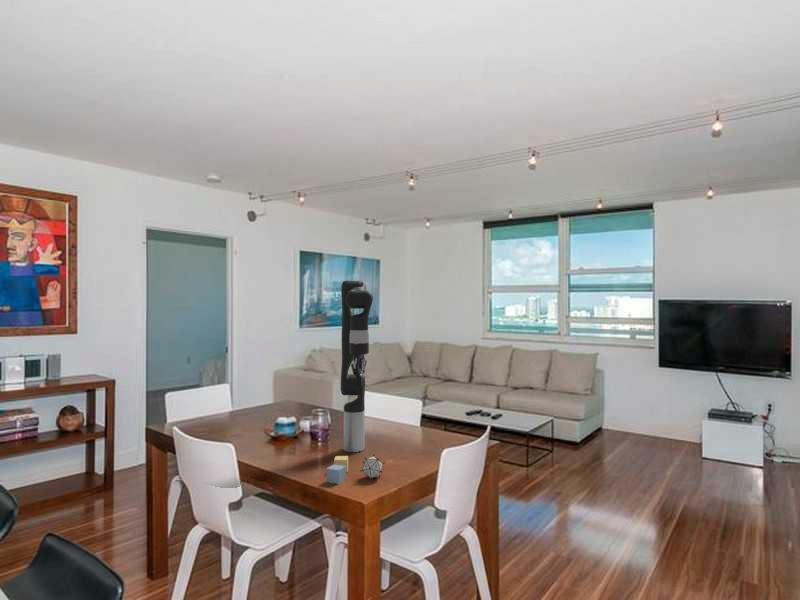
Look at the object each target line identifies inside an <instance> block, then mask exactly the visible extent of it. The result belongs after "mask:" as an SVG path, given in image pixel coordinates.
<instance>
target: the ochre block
mask: <svg viewBox="0 0 800 600" xmlns="http://www.w3.org/2000/svg"><path fill="white" fill-rule="evenodd" d="M333 461H334V463H333V465H341V466H346V472H347V473H348V472H349V455H336V456H335V457H334V460H333Z"/></svg>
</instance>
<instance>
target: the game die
mask: <svg viewBox="0 0 800 600" xmlns="http://www.w3.org/2000/svg"><path fill="white" fill-rule="evenodd" d="M379 459H380V458H379V457H378V458H377V457H376V456H375V454H373V456H370V457H368V458H367V457H364V460H365V461H363V462H362V464H363V465H362V469H360V470H359V472H363V473H364V474H365V475H366V477H369V478H370V481H372V479H373V478H376V477H379V478H380V477H381V475H380V474H381V473H383V471H382V468H383V465H385V464H386V463H385V462H382V461H380V460H379Z"/></svg>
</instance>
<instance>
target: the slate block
mask: <svg viewBox="0 0 800 600" xmlns="http://www.w3.org/2000/svg"><path fill="white" fill-rule="evenodd" d="M346 475H347V473H346V466H341V465H334V464H332V465H331V466H328V467H327V468H326V483H328V482H329V483H330V484H335V483H336V484H335V485H340V484H341V483H343V482H345V481H346V480H347V479H346V477H347V476H346ZM345 479H346V480H345ZM342 481H343V482H342ZM339 483H340V484H339Z"/></svg>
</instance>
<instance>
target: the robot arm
mask: <svg viewBox="0 0 800 600" xmlns="http://www.w3.org/2000/svg"><path fill="white" fill-rule="evenodd" d="M340 294H341V297H340V299H341V321H342V322H341V369H340V392H341V395H343V396H356V398H355V399H353V400H351V401H349V402H346V403H345V404H344V405H343V451H345V452H346V453H347V452H348V453H359V451H360V452H363V451H364V450H365V437H366V436H365V432H366V431H365V430H366V429H365V426H366V423H365V420H366V418H365V417H366V416H365V413H366V412H365V407H366V406H365V397H366V395H365V394H366V392H365V391H366V378H365V375H364V374H365V371H366V366H367V363H368V362H367V359H366V358H365V355H368V354H369V353H370V346H369V345H370V341H369V340H370V336H369V316H370V312H371V309H372V308H371V307H372V305H373V300H374V296H373V293H372V292H371V291H369V290H367V285H366V284H365V281H362V280H343V281H342V283H341V287H340ZM352 309H353V310H354V309H362V312H361V313H360V312H359V313H358V314H353V311H352ZM350 367H351V370H352V374H349V370H350Z"/></svg>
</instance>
